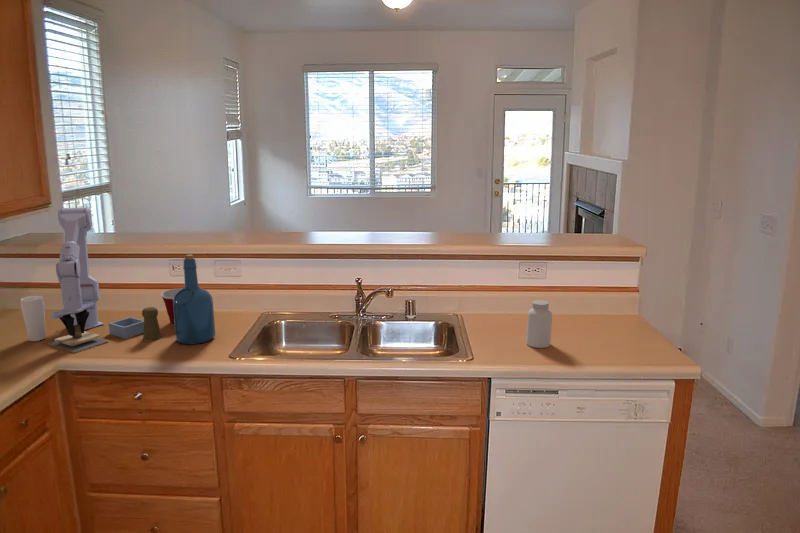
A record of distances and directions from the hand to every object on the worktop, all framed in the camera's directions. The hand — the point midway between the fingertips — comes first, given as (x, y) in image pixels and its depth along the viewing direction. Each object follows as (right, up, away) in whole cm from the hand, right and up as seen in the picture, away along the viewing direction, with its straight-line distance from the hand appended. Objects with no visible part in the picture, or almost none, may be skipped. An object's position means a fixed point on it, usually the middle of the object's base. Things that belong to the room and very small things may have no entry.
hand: (76, 334), depth 207 cm
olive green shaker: (+23, -2, +6) cm, 24 cm away
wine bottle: (+39, -3, +5) cm, 39 cm away
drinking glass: (-16, -3, +5) cm, 17 cm away
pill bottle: (+157, -4, -1) cm, 157 cm away
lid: (0, -2, 0) cm, 2 cm away
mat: (0, -3, +1) cm, 3 cm away
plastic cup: (+27, +2, +23) cm, 35 cm away
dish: (+13, -1, +11) cm, 17 cm away
